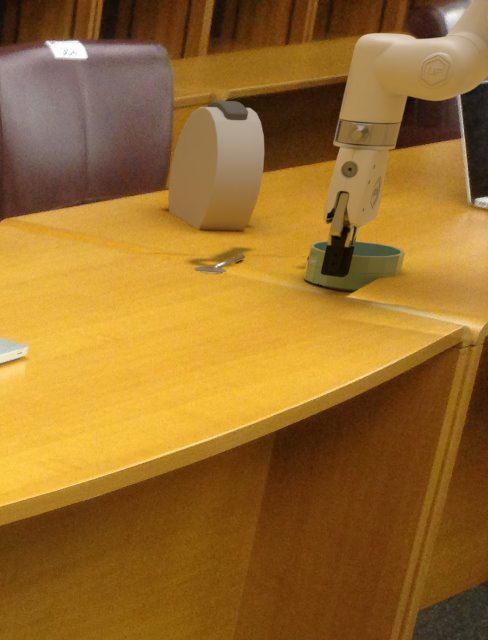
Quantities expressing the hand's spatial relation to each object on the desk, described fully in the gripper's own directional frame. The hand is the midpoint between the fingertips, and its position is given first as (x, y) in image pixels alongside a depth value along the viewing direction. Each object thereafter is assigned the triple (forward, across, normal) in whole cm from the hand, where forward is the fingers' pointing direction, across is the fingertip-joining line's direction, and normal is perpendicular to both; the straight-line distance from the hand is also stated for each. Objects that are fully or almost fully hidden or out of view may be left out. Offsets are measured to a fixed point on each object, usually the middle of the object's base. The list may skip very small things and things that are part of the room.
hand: (334, 274), depth 210 cm
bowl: (+3, +8, 0) cm, 8 cm away
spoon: (+3, +8, +17) cm, 19 cm away
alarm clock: (+3, +40, +31) cm, 51 cm away
